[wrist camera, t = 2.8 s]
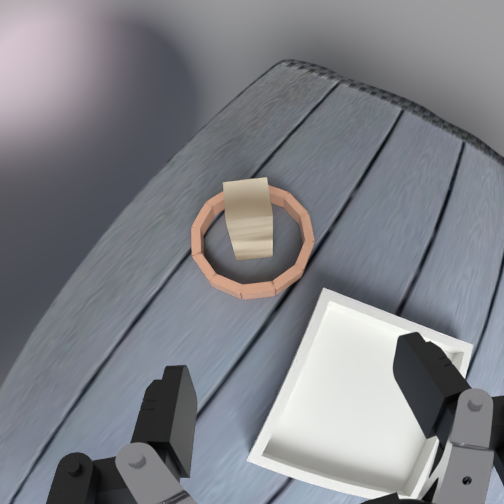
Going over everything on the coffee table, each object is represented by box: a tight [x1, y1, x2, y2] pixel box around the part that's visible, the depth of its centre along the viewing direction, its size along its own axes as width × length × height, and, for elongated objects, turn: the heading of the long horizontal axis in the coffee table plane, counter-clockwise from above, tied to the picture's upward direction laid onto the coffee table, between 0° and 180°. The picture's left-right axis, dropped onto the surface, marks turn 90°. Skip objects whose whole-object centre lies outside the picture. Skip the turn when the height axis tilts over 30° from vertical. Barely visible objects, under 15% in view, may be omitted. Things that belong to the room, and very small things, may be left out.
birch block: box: [223, 177, 273, 261], centre depth 32 cm, size 4×4×9 cm
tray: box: [247, 288, 473, 499], centre depth 27 cm, size 18×18×3 cm
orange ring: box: [191, 185, 315, 300], centre depth 35 cm, size 13×13×2 cm
